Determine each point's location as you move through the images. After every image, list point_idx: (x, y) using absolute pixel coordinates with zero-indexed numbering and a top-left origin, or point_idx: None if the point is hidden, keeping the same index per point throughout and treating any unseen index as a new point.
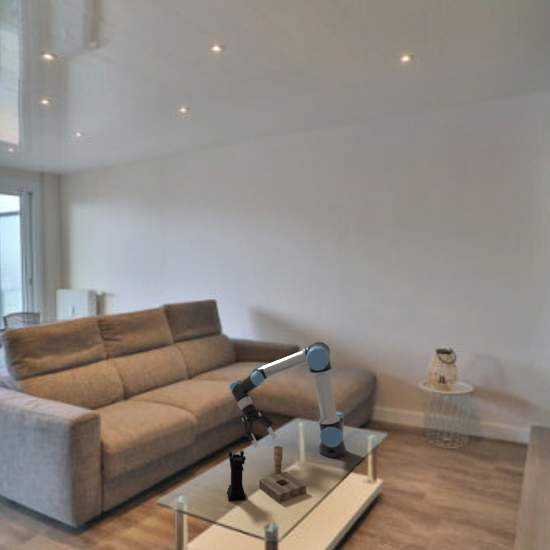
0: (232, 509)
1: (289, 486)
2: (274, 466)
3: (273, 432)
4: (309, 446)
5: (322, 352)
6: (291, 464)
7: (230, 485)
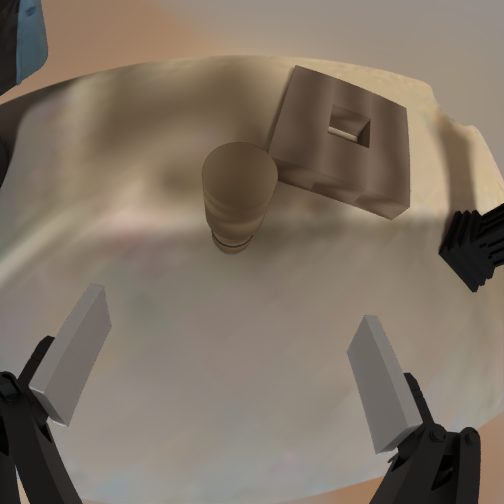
0: None
1: (349, 98)
2: (246, 244)
3: (73, 323)
4: None
5: None
6: (118, 236)
7: (489, 271)
